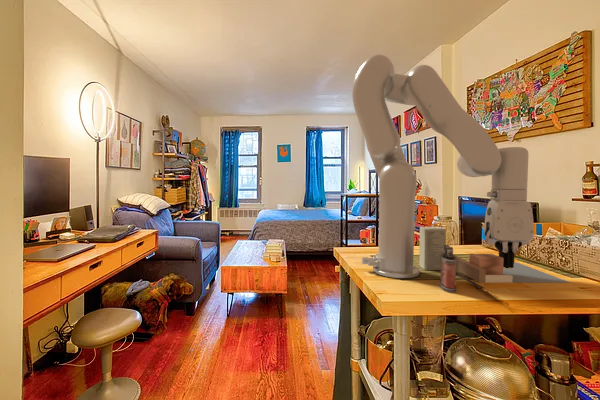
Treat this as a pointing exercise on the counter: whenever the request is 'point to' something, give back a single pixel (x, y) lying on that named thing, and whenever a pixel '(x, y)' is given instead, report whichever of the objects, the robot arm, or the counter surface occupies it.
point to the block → (488, 263)
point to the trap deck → (504, 274)
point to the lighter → (448, 270)
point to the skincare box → (431, 247)
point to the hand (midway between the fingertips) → (506, 266)
